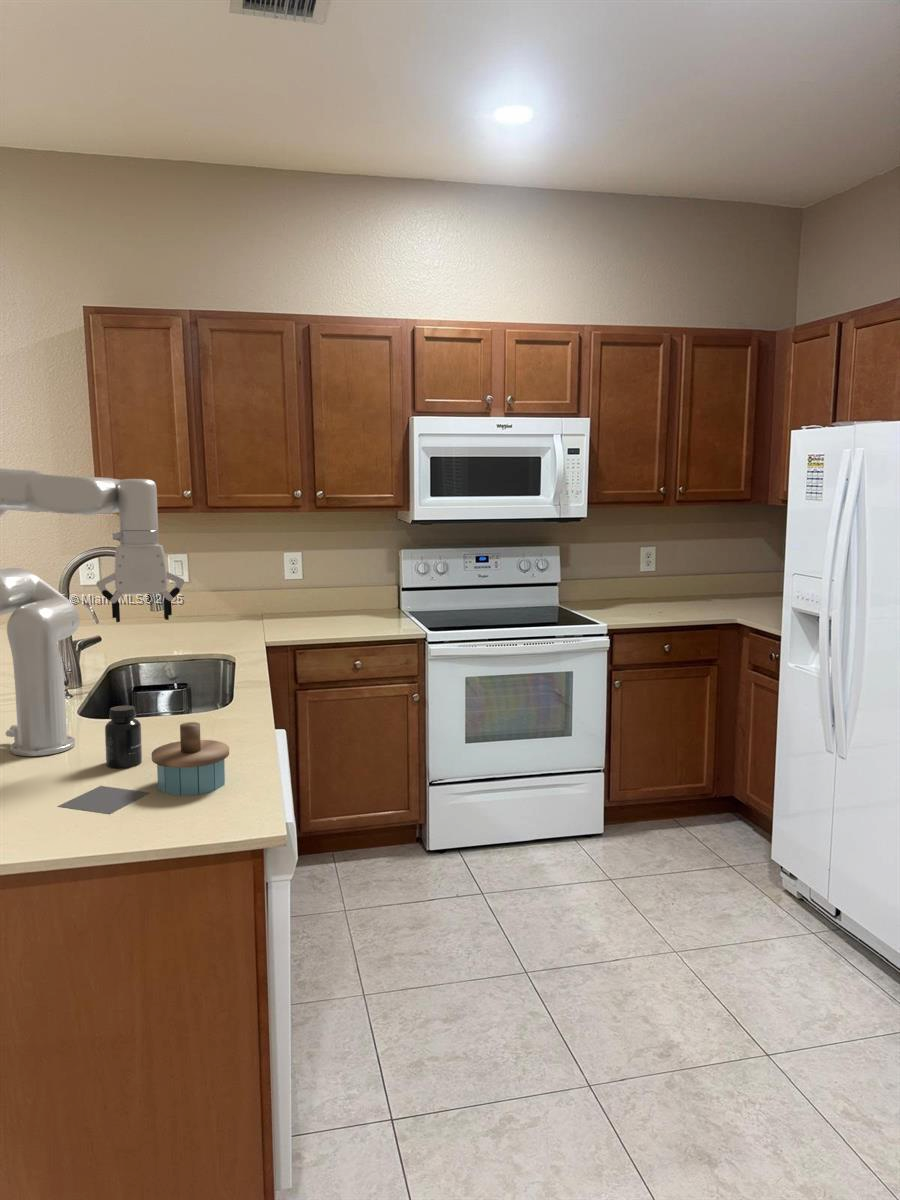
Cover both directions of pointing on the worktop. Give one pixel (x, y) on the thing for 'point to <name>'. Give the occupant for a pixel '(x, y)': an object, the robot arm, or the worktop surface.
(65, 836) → the worktop surface
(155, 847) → the worktop surface
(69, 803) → the rubber mat
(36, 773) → the worktop surface
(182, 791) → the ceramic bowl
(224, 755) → the walnut lid
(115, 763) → the supplement bottle
